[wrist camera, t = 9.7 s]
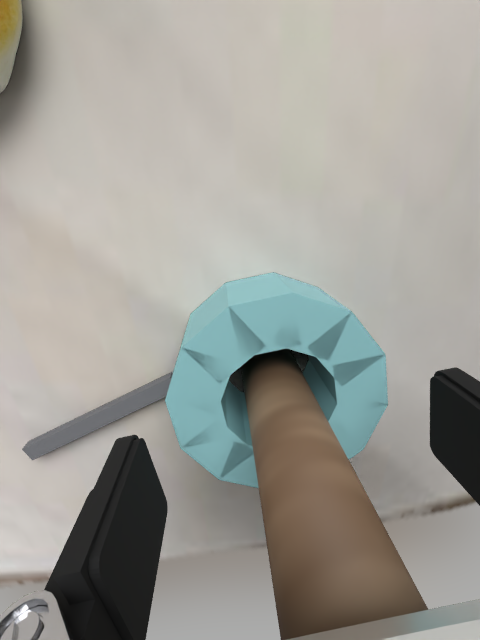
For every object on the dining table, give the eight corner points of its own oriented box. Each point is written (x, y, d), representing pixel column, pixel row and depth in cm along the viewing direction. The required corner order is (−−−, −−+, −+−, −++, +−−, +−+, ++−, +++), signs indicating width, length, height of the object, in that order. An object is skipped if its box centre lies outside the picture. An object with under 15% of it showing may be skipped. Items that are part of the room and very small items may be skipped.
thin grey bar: (171, 372, 16) (170, 377, 15) (179, 384, 16) (178, 390, 15) (28, 441, 16) (21, 449, 16) (38, 451, 17) (32, 460, 16)
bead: (338, 258, 14) (381, 273, 11) (352, 409, 17) (390, 464, 13) (160, 296, 14) (140, 324, 11) (203, 441, 17) (198, 505, 13)
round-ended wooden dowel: (286, 329, 15) (480, 655, 4) (294, 375, 16) (471, 750, 5) (235, 340, 15) (281, 696, 4) (245, 385, 16) (308, 785, 5)
